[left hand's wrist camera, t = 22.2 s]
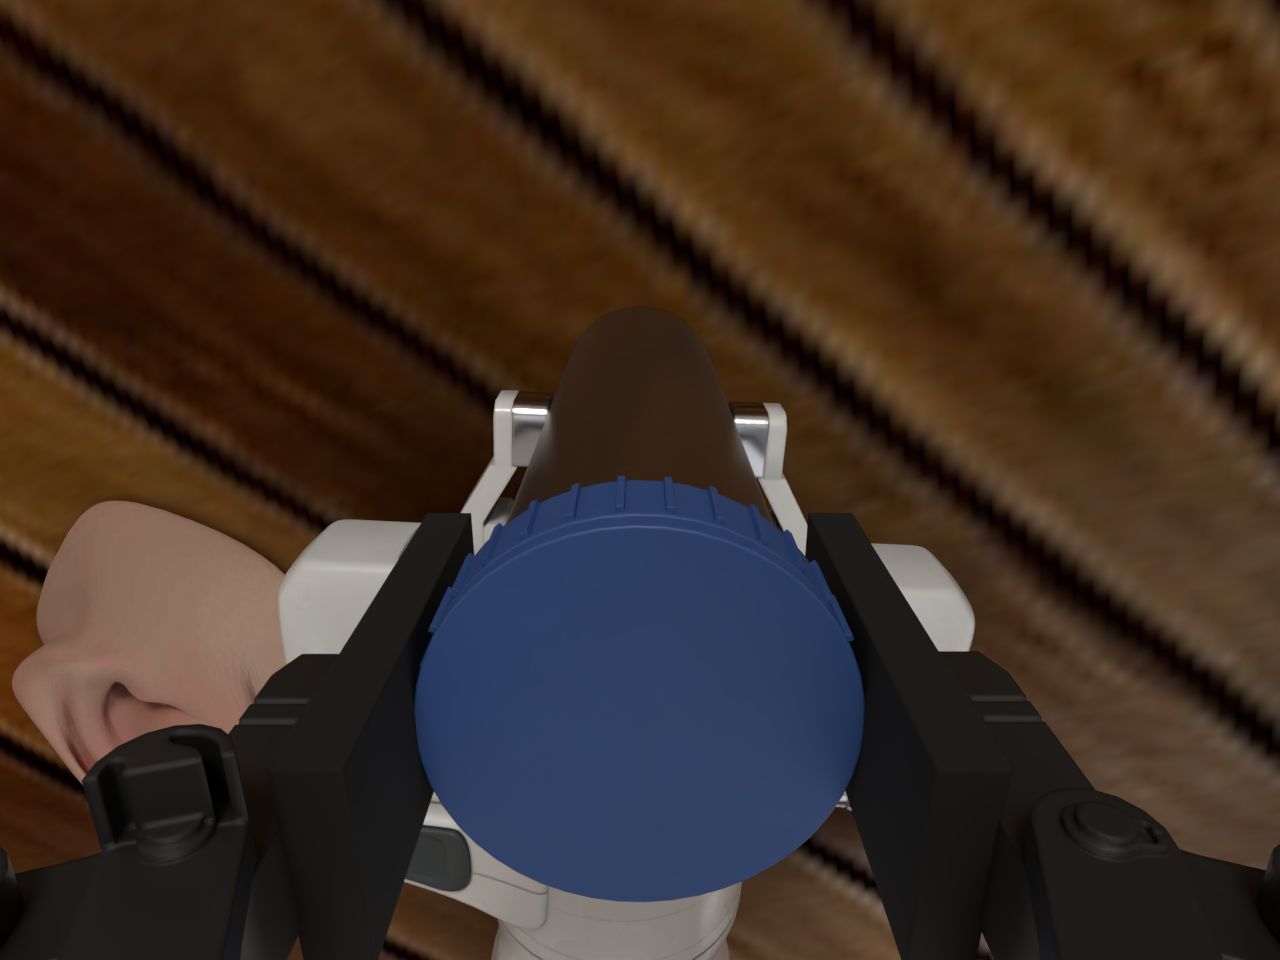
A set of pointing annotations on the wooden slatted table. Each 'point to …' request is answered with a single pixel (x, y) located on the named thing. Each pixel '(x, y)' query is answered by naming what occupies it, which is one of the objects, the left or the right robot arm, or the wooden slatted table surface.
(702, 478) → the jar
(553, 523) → the lid
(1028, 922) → the left robot arm
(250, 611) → the anatomical model
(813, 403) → the wooden slatted table surface
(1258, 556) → the wooden slatted table surface
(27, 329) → the wooden slatted table surface
